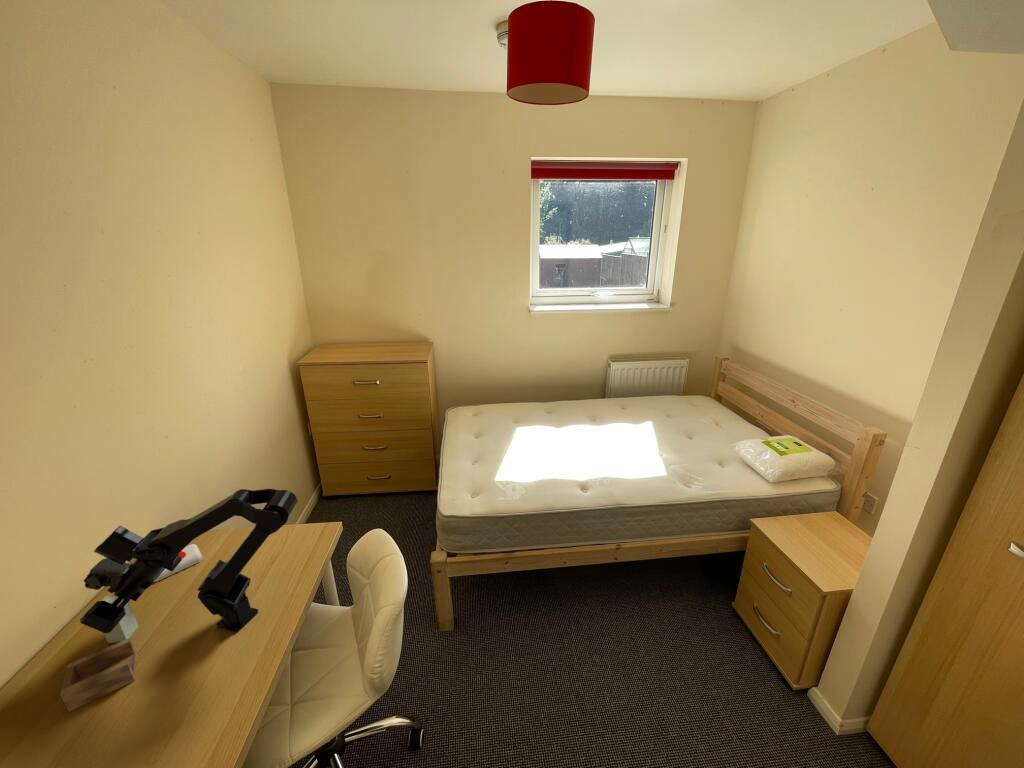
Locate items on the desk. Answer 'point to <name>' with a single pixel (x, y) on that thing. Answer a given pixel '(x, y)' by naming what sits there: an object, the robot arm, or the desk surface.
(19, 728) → the desk surface
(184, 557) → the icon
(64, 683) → the wooden channel cradle
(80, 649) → the desk surface
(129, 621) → the clay bar
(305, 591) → the desk surface
